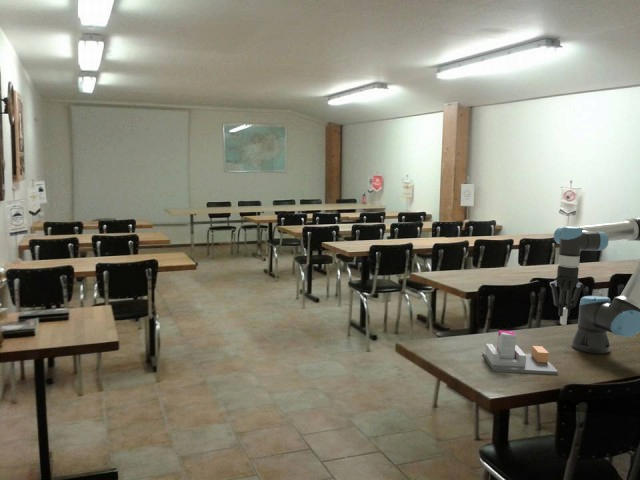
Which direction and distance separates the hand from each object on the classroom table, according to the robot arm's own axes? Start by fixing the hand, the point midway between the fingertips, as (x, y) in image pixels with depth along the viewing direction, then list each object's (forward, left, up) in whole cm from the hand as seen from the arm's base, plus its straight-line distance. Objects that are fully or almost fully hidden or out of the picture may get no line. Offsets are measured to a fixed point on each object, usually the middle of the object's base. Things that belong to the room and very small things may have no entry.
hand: (563, 324), depth 216 cm
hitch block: (+17, +3, -16) cm, 24 cm away
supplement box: (+22, +3, -15) cm, 27 cm away
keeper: (+8, 0, -15) cm, 17 cm away
